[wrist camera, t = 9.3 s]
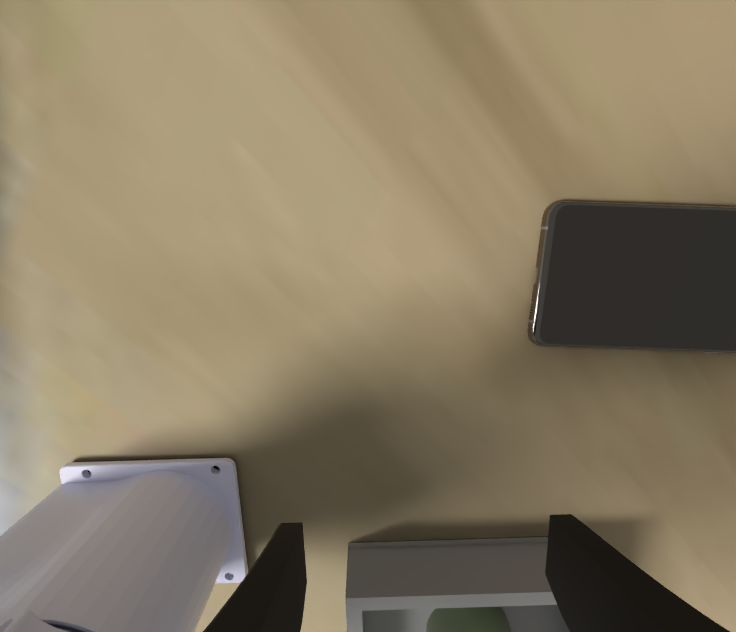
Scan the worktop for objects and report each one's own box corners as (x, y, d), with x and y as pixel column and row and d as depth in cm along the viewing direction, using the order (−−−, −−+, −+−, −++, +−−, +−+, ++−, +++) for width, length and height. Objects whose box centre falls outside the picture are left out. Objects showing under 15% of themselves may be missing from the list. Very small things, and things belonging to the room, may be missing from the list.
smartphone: (548, 199, 18) (890, 211, 18) (539, 201, 19) (861, 212, 19) (528, 348, 20) (842, 359, 20) (521, 342, 21) (818, 353, 21)
